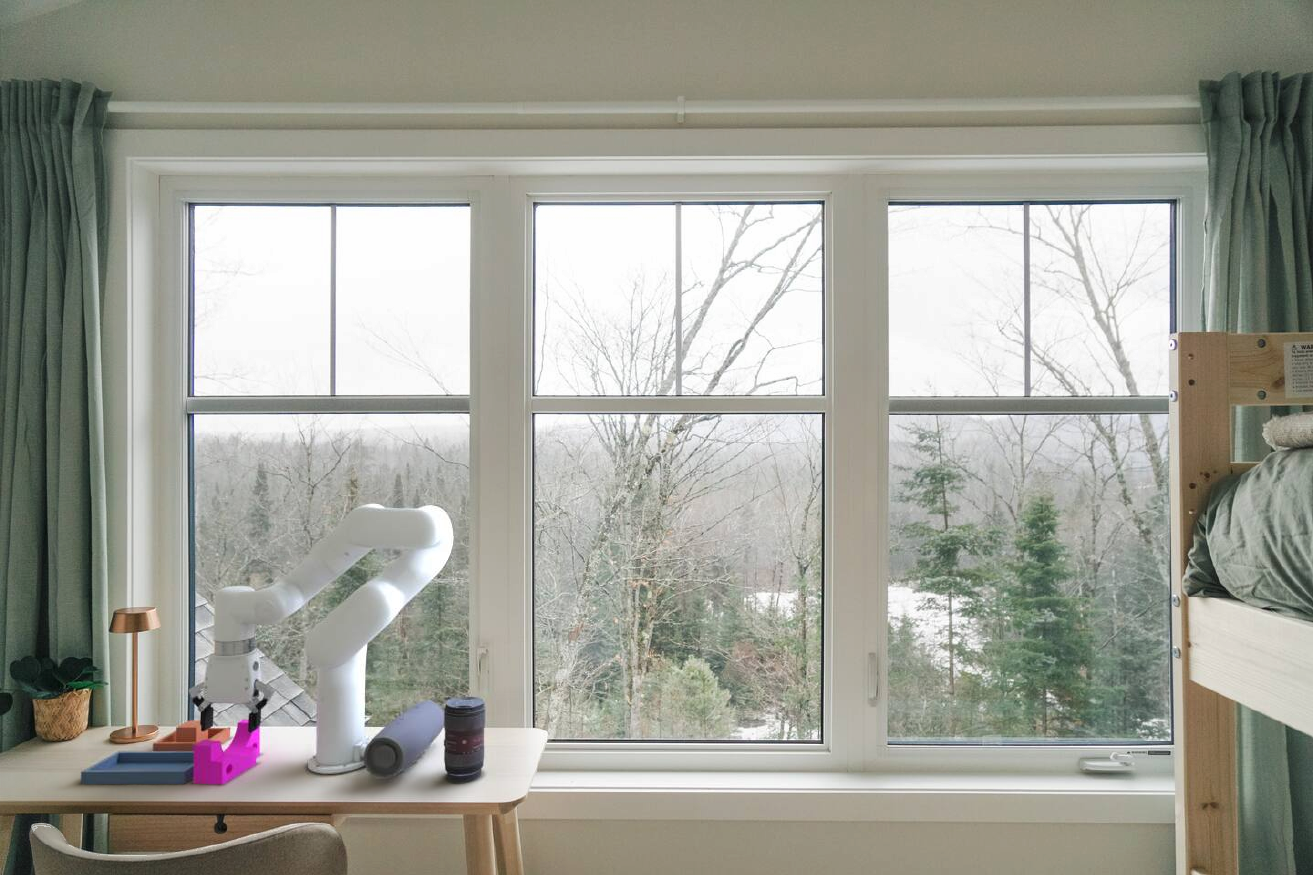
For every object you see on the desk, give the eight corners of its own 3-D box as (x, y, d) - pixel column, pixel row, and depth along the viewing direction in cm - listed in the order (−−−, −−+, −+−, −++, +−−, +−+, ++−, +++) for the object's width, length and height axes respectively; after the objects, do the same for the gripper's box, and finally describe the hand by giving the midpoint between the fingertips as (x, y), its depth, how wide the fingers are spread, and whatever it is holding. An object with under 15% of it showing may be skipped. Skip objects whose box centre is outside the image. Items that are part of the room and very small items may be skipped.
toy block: (222, 784, 152) (222, 746, 153) (193, 782, 153) (193, 744, 154) (270, 755, 167) (270, 720, 168) (243, 753, 168) (244, 719, 168)
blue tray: (215, 762, 164) (215, 750, 164) (184, 783, 153) (184, 771, 153) (117, 762, 164) (118, 751, 164) (80, 783, 153) (80, 771, 153)
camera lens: (484, 782, 153) (485, 706, 154) (442, 786, 152) (442, 709, 152) (485, 766, 161) (485, 694, 162) (445, 769, 160) (445, 696, 160)
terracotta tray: (230, 737, 178) (230, 727, 178) (205, 754, 168) (206, 743, 168) (179, 738, 178) (179, 727, 178) (152, 754, 168) (152, 743, 168)
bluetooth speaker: (407, 741, 175) (408, 697, 175) (447, 742, 174) (447, 698, 175) (360, 784, 153) (360, 733, 153) (405, 786, 152) (405, 734, 152)
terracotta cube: (208, 740, 175) (208, 720, 175) (196, 747, 171) (196, 727, 171) (188, 740, 175) (188, 720, 175) (175, 747, 171) (176, 727, 171)
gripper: (283, 643, 165) (280, 724, 164) (202, 641, 165) (199, 722, 164) (266, 652, 157) (262, 737, 157) (181, 650, 157) (177, 735, 157)
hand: (230, 729), depth 160 cm, fingers open, 9 cm apart
